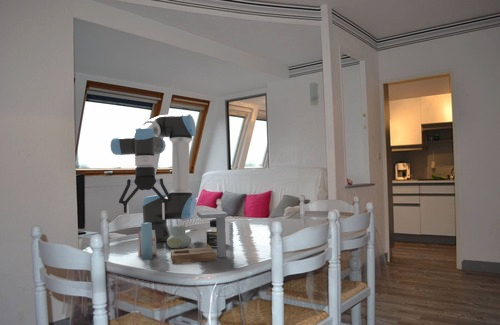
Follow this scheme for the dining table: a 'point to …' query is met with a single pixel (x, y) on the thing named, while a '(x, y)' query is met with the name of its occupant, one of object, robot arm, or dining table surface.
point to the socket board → (192, 255)
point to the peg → (146, 240)
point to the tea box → (141, 243)
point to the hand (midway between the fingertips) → (146, 220)
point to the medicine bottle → (213, 234)
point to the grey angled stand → (220, 228)
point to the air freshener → (178, 237)
